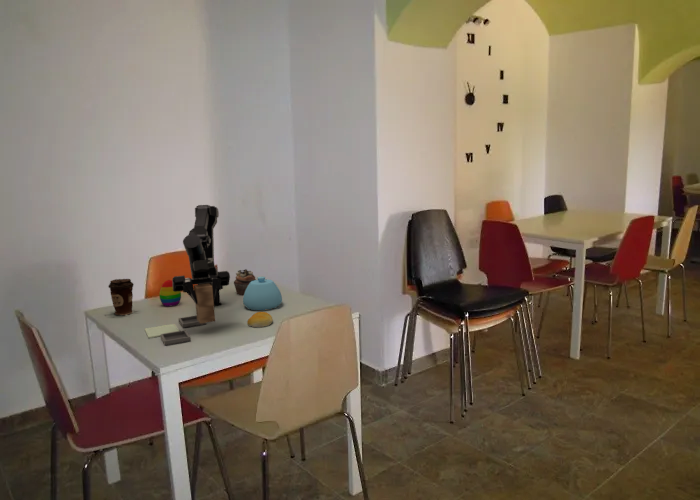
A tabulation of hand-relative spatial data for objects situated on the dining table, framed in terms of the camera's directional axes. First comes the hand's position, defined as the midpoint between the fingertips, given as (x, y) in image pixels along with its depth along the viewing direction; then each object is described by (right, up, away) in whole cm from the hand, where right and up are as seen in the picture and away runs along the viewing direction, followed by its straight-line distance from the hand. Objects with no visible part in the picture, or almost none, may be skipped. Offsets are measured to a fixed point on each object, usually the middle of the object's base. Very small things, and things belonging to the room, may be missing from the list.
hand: (205, 302), depth 187 cm
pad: (-16, -10, +4) cm, 19 cm away
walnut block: (0, -6, +3) cm, 7 cm away
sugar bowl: (+14, -5, +31) cm, 35 cm away
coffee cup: (-38, -7, +27) cm, 47 cm away
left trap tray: (-8, -12, -5) cm, 15 cm away
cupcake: (+4, -1, +52) cm, 52 cm away
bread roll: (+17, -9, +10) cm, 21 cm away
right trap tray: (-8, -9, +12) cm, 17 cm away
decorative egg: (-23, -4, +37) cm, 44 cm away
